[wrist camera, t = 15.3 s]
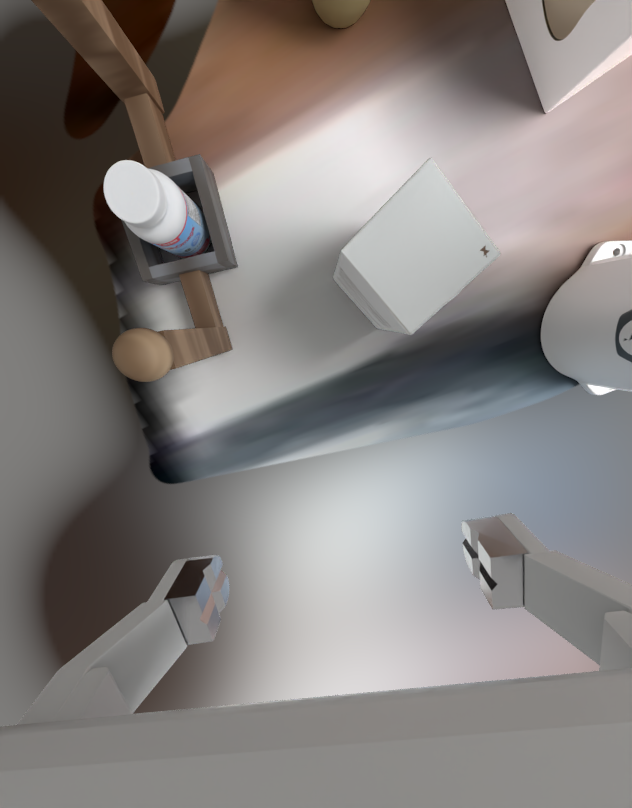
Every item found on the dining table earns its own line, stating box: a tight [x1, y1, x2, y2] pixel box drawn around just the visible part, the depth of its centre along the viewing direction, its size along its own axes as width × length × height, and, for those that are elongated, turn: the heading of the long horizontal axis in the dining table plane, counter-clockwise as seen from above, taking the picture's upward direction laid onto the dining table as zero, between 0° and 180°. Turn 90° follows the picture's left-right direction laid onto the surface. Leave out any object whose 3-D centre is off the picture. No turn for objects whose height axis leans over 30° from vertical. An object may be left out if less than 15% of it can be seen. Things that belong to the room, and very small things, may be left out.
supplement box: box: [333, 158, 501, 335], centre depth 29 cm, size 9×9×15 cm
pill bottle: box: [104, 160, 211, 258], centre depth 30 cm, size 6×6×11 cm
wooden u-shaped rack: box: [32, 0, 238, 382], centre depth 26 cm, size 10×30×19 cm, turn 12°
